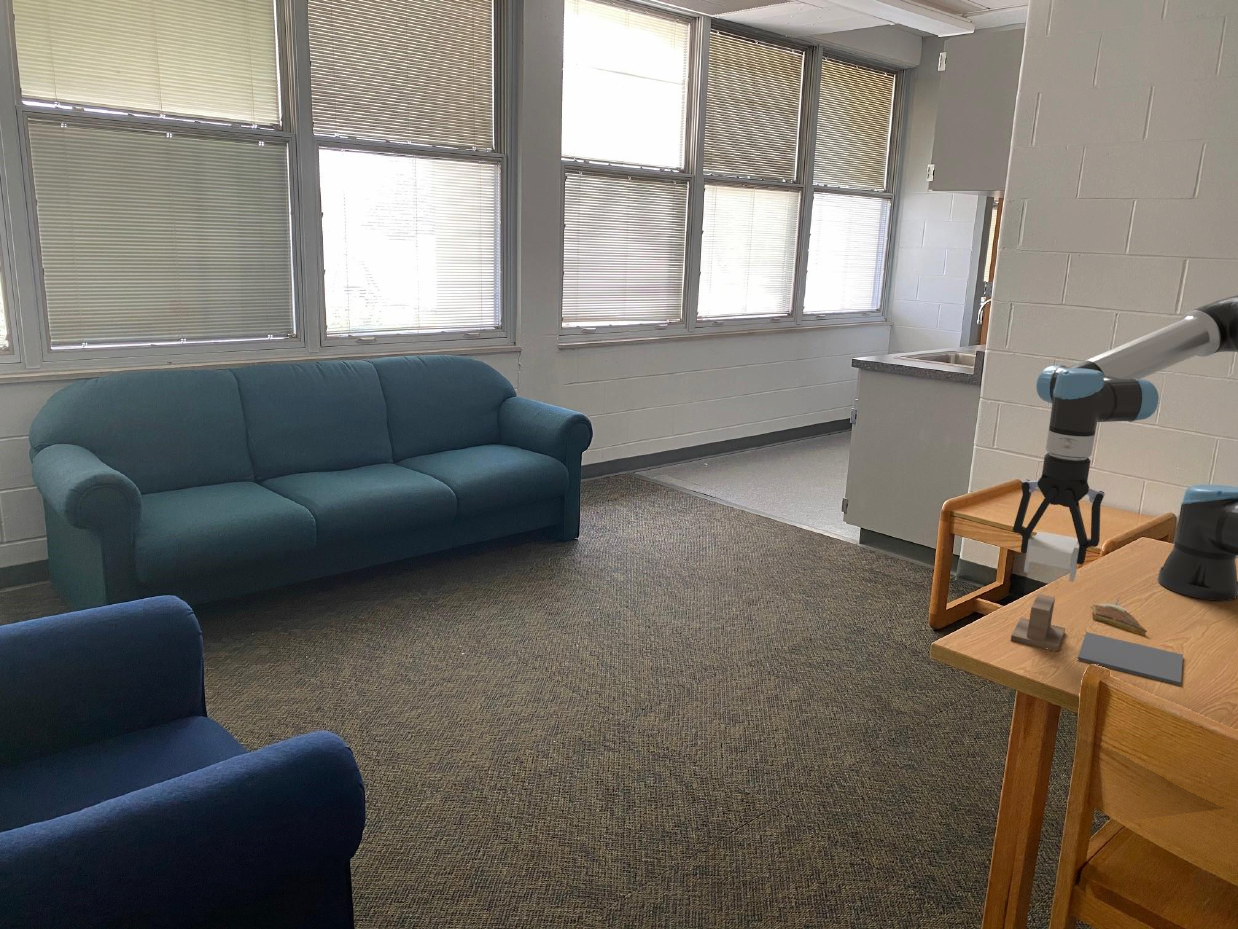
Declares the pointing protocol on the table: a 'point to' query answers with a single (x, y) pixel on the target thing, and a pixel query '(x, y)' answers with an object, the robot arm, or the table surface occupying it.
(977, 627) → the table surface
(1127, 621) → the shard
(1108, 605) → the sign
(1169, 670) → the rubber mat
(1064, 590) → the table surface
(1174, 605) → the table surface
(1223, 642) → the table surface
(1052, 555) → the card box
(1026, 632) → the walnut stand
